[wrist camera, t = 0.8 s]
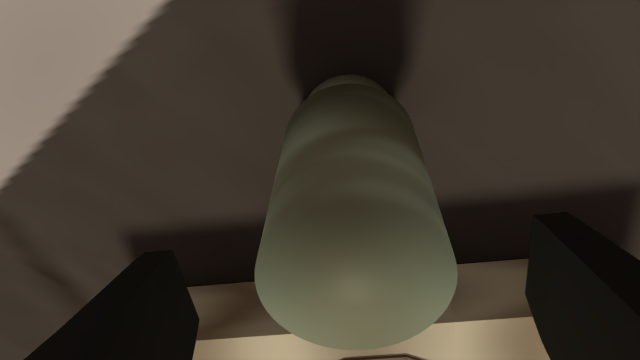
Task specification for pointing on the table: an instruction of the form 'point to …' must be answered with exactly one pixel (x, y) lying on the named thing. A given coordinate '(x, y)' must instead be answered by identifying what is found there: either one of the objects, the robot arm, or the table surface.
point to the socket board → (408, 356)
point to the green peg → (353, 224)
